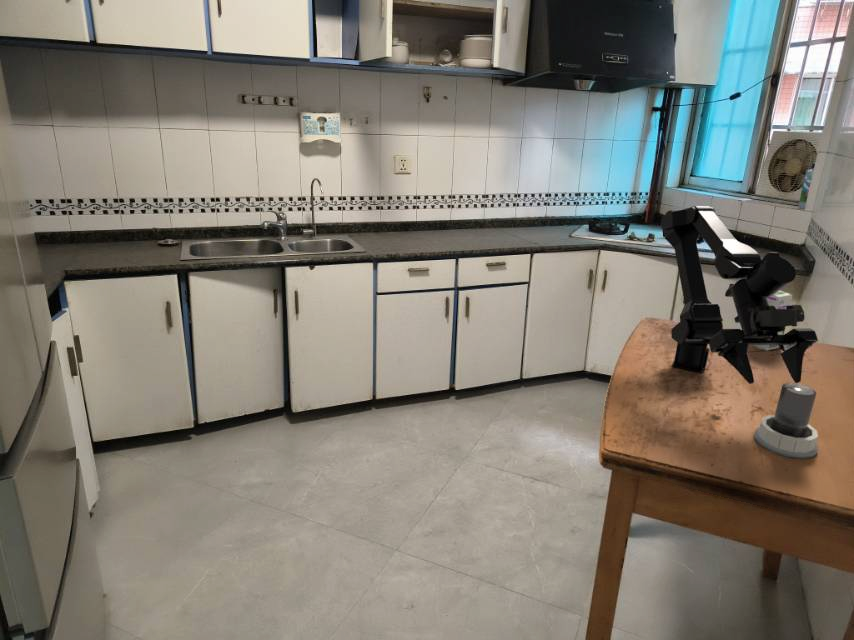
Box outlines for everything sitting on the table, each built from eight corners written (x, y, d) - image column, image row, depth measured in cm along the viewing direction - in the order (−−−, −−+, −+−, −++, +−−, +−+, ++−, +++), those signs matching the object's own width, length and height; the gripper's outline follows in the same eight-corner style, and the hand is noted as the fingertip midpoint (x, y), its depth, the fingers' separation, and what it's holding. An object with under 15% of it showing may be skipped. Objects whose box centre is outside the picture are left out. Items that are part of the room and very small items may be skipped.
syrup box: (767, 351, 150) (780, 296, 145) (745, 343, 155) (757, 290, 150) (781, 347, 152) (794, 294, 147) (759, 340, 157) (772, 287, 152)
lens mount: (752, 447, 106) (756, 431, 105) (755, 424, 114) (758, 408, 113) (818, 464, 101) (822, 448, 100) (815, 438, 109) (820, 423, 108)
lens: (774, 444, 106) (788, 393, 102) (765, 430, 110) (778, 380, 107) (806, 448, 105) (821, 397, 101) (796, 433, 109) (810, 384, 106)
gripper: (729, 288, 109) (752, 368, 102) (824, 288, 110) (853, 367, 104) (699, 314, 119) (718, 388, 112) (786, 314, 120) (810, 387, 114)
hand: (775, 382), depth 110 cm, fingers open, 9 cm apart
